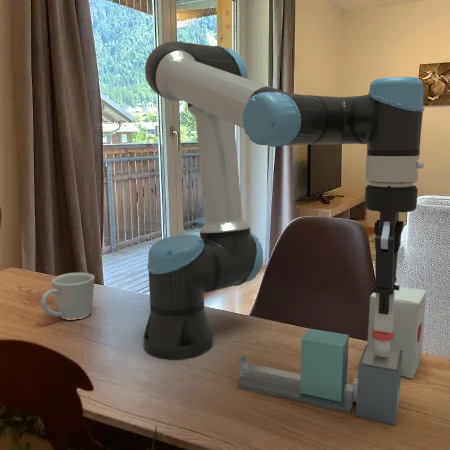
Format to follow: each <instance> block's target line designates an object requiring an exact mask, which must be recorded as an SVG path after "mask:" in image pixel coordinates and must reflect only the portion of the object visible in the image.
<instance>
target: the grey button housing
mask: <svg viewBox="0 0 450 450" xmlns="http://www.w3.org/2000/svg"><path fill="white" fill-rule="evenodd" d="M402 355H403V351H401V350H399V349H393V348H390V352H389V356H387V357H380V356H377V355H375V354H374V345H369V344H368V345H367V344H365V346H364V348H363V352H362V354H361V357H360V359H359V361H358V365H357V366H358V368H357V369H358V370H357V378H358V385H357V402H356V406H355V407H356V411H355V416H356V417H357V418H360V419H365V420H370V421H373V422H378V423H383V424H387V425H392V426H396V423H397V419H398V418H397V417H398V412H399V407H400V400H401V399H400V398H401V383H402V376H401V370H402ZM356 417H355V418H356Z"/></svg>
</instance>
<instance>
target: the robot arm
mask: <svg viewBox="0 0 450 450" xmlns="http://www.w3.org/2000/svg"><path fill="white" fill-rule="evenodd" d="M144 75H145V76H144V77H145V79H146V82H147V84H148V86H149V88H150V89H151V90H152V91H153V92H154V93H155V94H157V95H159V96H160V97H161V98H164V99H166V100H168V101H171V102H181V101H183V102H185V103H186V105H187V111H188V112H189V113H190V114H191V115H192V116H193V117H194V119H195V127H196V137H197V148H198V159H199V168H200V170H199V171H200V177H201V180H200V181H201V190H202V199H203V200H202V201H203V210H204V211H203V213H204V222H205V223H204V225H203V226H202V227H201V228H200V229H199V235H196V234H181V235H179V234H177V235H172V236H168V237H164V238H162V239H159V240H157V241H156V242H154V243H153V244H152V245H151V246H150V247H149V249H148V260H147V271H148V283H149V284H148V286H149V307H150V308H149V310H150V312H149V316H148V319H147V322H146V324H145V325H146V327H145V330H144V333H143V349H144V351H145V352H146V353H148V354H149V355H151V356H153V357H156V358H159V359H167V360H183V359H188V358H189V359H190V358H193V357H194V358H195V357H197V356H200V355H202V354H204V353H206V352H207V351H209V350H210V349H211V348H212V347H213V344H214V338H213V337H214V335H213V329H212V327H211V325H210V321H209V319H208V315H207V313H206V310H205V294H207V293H210V292H215V291H219V290H223V289H227V288H230V287H231V288H232V287H238V286H241V285H243V284H245V283H249V282H251V281H253V280H254V279H255V278H256V277H257V275H259V273H260V271H261V269H262V266H263V262H264V249H263V246H262V244H261V243H262V242H259V238H258V237H257V235H255V234H253V233H251V225H250V224H248V223H247V222H246V221H245V220H244V218H243V208H242V198H241V196H242V195H241V187H240V186H241V185H240V175H239V174H240V172H239V165H238V164H239V163H238V152H237V142H236V131H235V126H237V127H239V128H242V129H243V131H244V132H245V134H246V135H247V136H248V139H249V140H250V141H251V142H252V143H254V144H256V145H258V146H259V145H260V146H268V147H273V148H276V147H277V148H278V147H285V146H304V145H305V146H308V145H311V146H312V145H315V146H316V145H319V146H320V145H329V146H332V145H357V144H359V145H366V157H365V158H366V159H365V178H364V179H365V181H366V182H368V183H369V184H367V185H366V186H365V189H364V208H365V209H367V210H369V211H371V212H379V219H376V222H374V226H373V227H374V229H373V232H374V235H375V237H374V243H375V244H374V249H375V273H374V275H375V276H374V278H375V279H374V287H372V288H371V289H370V291H371V292H370V293H371V294H373V293H376V301H375V320H374V331H379V332H385V333H392V330H393V315H394V298H395V291H394V290H398V291H399V288H400V287H401V286H400V285H397V284H396V283H397V267H398V257H399V256H398V255H399V249H400V247H401V240H402V234H403V233H402V232H403V231H404V220H400V213H411V212H413V211H415V210H416V209H417V205H418V193H419V192H418V190H419V189H418V187H417V186H416V185H414V183H417V182H418V181H419V169H423V168H424V166H425V165H424V162H423V161H418V160H419V159H420V154H421V153H420V149H421V148H420V147H421V136H422V126H423V125H422V124H423V112H424V111H425V107H424V84H423V81H422V79H420V78H418V77H414V76H388V77H387V76H386V77H380V78H377V79H373V80H371V82H370V83H369V84H370V85H369V91H368V94H364V95H355V96H354V95H353V96H351V95H350V96H330V95H329V96H328V95H327V96H326V95H314V94H313V95H311V94H308V95H307V94H298V93H297V94H296V93H291V92H287V91H284V90H280V89H278V88H276V87H272V86H269V85H267V84H264V83H261V82H258V81H254V80H251V79H249V76H248V69H247V64H246V63H245V61H244V58H243V57H242V56H241V55H240V54H239V53H238V52H237V51H235V50H234V49H230V48H227V47H226V48H225V47H223V46H221V45H206V44H200V43H192V42H184V41H177V40H175V41H167V42H164V43H161V44H160V45H158V46H156V47H154V49H153V50H152V51H151V53H149V55H148V57H147V59H146V61H145V66H144Z"/></svg>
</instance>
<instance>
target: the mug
mask: <svg viewBox="0 0 450 450" xmlns="http://www.w3.org/2000/svg"><path fill="white" fill-rule="evenodd" d="M50 283H51V286H52V288H51V289H48V290H47V291H45V292H44V293H43V294H42V296H41V300H40V304H41V308H42V309H43V311H44V312H45V313H46V314H48V315H50V316H51V317H52V316H53V317H60V316H62V317H64V318H70V319H72V318H80V317H84V316H87V315H89V314H90V313H91V314H92V308H93V297H94V288H95V275H94V274H92V273H89V272H69V273H63V274H60V275H57V276H55V277H53V278H52V279H51V281H50ZM52 294H53V295H54V298H55V301H56V306H57V307H56V308H57V310H58V311H57V310H52V309H50V308H49V307H48V306H47V302H46V301H47V299H48V297H49V296H50V295H52Z"/></svg>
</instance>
